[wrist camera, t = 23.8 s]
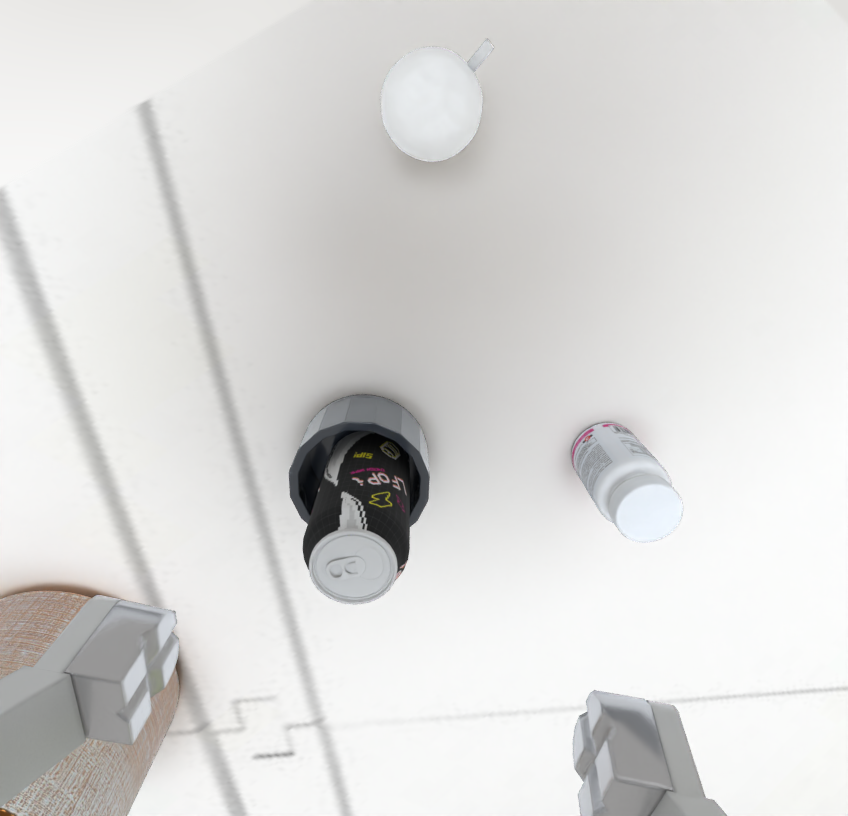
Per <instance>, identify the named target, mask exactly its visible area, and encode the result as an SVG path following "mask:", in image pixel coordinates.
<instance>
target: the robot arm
mask: <svg viewBox="0 0 848 816" xmlns="http://www.w3.org/2000/svg"><path fill="white" fill-rule="evenodd" d="M176 624H177V619H176V612H175V611H172V610H168V609H163V608H159V607H154V606H149V605H145V604H140V603H135V602H131V601H126V600H122V599H117V598H112V597H107V596H102V595H96V596H94V597H93V598H91V599H90V600H88V601H87V602H86V604H85V605H84V606H83V607H82V608H81V610H80V611H79V612H78V613H77V614H76V616H75V617H74V618H73V619H72V620H71V622H70V623H69V624H68V625H67V627H66V628H65V629H64V630H63V631H62V633H61V634H60V635H59V636H58V637H57V639H56V640H55V641H54V642H53V643H52V645H51V646H50V647H49V648H48V649H47V651H46V652H45V653H44V654H43V656H42V657H41V658H40V659H39V660H38V662H37V663H36V664H35V665H34V666H33V667H31V666H24V667H22V668H20V669H18V670H16V671H14V672H12V673H11V674H9V675H7V676H5V677H3V678H1V679H0V808H1V807H2V806H3V805H4V804H6V803H7V802H8V801H10V800H11V799H12V798H13V797H15V796H16V795H17V794H19V793H20V792H21V791H22V790H24V789H25V788H26V787H28V786H29V785H30V784H31V783H33V782H34V781H35V780H37V779H38V778H39V777H40V776H42V775H43V774H44V773H46V772H47V771H48V770H49V769H51V768H52V767H53V766H54V765H56V764H57V763H58V762H60V761H61V760H62V759H63V758H65V757H66V756H67V755H69V754H70V753H71V752H72V751H74V750H75V749H76V748H78V747H79V746H80V745H81V744H83V743H84V742H85V741H86V738H90V739H96V740H102V741H108V742H114V743H120V744H126V745H133V743H134V741H135V739H136V738H137V736H138V734H139V732H140V731H141V729H142V727H143V725H144V724H145V722H146V720H147V718H148V717H149V715H150V713H151V711H152V709H151V701H150V698H151V697H153V696H154V695H156V694H157V693H159V692H160V691H162V690H163V689H164V688H165V687H166V685H167V683H168V681H169V679H170V677H171V676H172V673H173V670H174V668H175V665H176V662H177V659H178V653H179V638H178V637H177V636H176V635H175V634H174V633H173V632H172V630H173V629H174V627H175V626H176ZM586 705H587V711H588V712H586V713H584V714H582V715H580V716H579V718H578V721H577V723H576V726H575V730H574V737H573V759H574V768H575V770H576V772H577V773H578V774H579V776H580V777H581V779H582V780H583V782H584V783H583V785H582V787H581V789H580V791H579V793H578V799H579V807H580V814H581V816H727V815H726V814H725V813H724V811H723V810H722V809H721V808H720V807H719V805H718V804H717V803H716V802H715V801H714V800H711V799H707V798H706V797H705V794H704V791H703V788H702V784H701V781H700V778H699V775H698V772H697V769H696V765H695V762H694V759H693V756H692V753H691V750H690V747H689V743H688V740H687V737H686V734H685V731H684V728H683V725H682V721H681V718H680V715H679V712H678V710H677V709H676V708H675V706H673V705H670V704H665V703H659V702H653V701H648V700H645V699H642V698H636V697H630V696H624V695H619V694H613V693H607V692H602V691H596V690H594V691H592V692H591V693H590V694H589V696H588V698H587V700H586Z"/></svg>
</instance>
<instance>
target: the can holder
mask: <svg viewBox="0 0 848 816" xmlns="http://www.w3.org/2000/svg"><path fill="white" fill-rule="evenodd" d="M358 431H372V432H375V433H377V434H380V435H382V436H384V437H387V438H389V439H392V440H394V441H396V442H397V443H398V444H399V445H400V446H401V447H402V448H403V449H404V451H405V452H406V454H407V457H408V460H409V466H410V527H411V526H412V525H413V524H414V523H415V522H416V521H417V520H418V519H419V517H420V515H421V513H422V511H423V509H424V507H425V505H426V504H427V502H428V498H429V478H430V475H429V460H428V447H427V444H426V439H425V436H424V433H423V431H422V429H421V427H420V425H419V423H418V422H417V420H416V419H415V418H414V417H413V416H412V415H411V413H409V412H408V411H407V410H406V409H405V408H404V407H402V406H401V405H399V404H398V403H396V402H394V401H392V400H389V399H386V398H384V397H380V396H375V395H366V394H364V395H352V396H347V397H344V398H340V399H338V400H336V401H333V402H332V403H330V404H328V405H327V406H325V407H324V408H323V409H322V410H320V411H319V413H318V414H317V415H316V416H315V417H314V418H313V420H312V421H311V422H310V424H309V426H308V428H307V430H306V433H305V435H304V437H303V440H302V442H301V444H300V447H299V449H298V451H297V454H296V456H295V458H294V461H293V463H292V465H291V468H290V470H289V485H290V497H291V499H292V501H293V503H294V505H295V507H296V509H297V511H298V513H299V515H300V517H301V518H302V519H303V520H304V521H305V522H306V523H307V524H308V522H309V519H310V516H311V513H312V509H313V506H314V503H315V500H316V496H317V493H318V490H319V487H320V483H321V480H322V477H323V474H324V470H325V467H326V464H327V461H328V458H329V454H330V452H331V451H332V449H333V447H334V446H335V445H336V444H337V443H338V441H340V440H341V439H342V438H344V437H345V436H347V435H349V434H351V433H354V432H358Z"/></svg>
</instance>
